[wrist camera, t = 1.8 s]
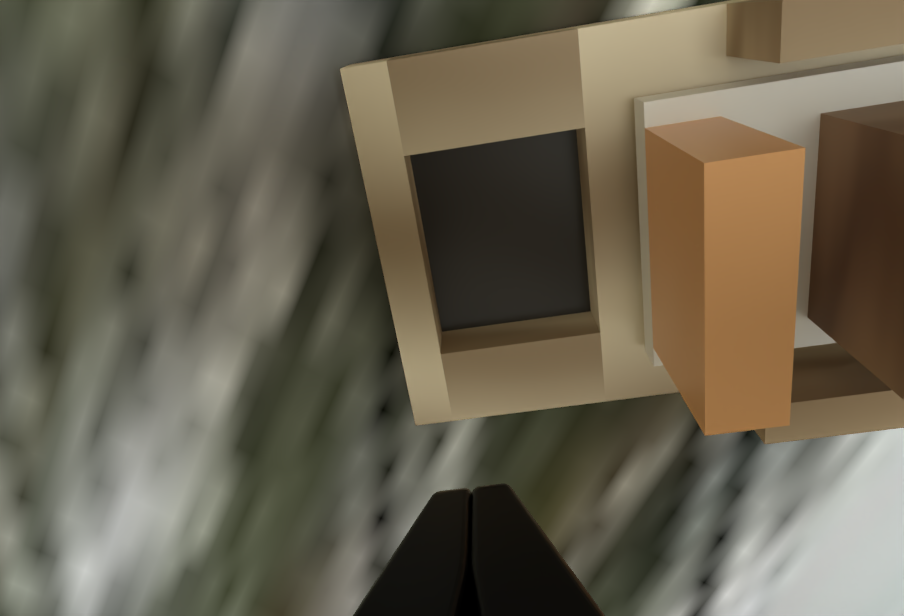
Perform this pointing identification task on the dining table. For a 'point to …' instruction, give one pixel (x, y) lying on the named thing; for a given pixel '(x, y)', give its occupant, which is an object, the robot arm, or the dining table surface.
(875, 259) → the block
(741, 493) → the dining table surface
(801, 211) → the sled
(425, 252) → the deck
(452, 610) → the robot arm
